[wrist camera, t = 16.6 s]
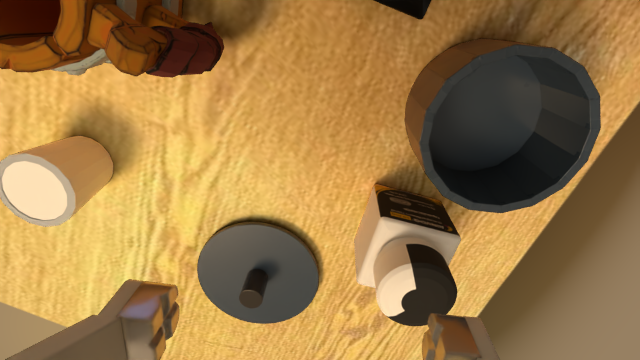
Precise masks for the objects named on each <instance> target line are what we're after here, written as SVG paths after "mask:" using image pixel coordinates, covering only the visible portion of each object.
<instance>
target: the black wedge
mask: <svg viewBox="0 0 640 360" xmlns="http://www.w3.org/2000/svg"><path fill="white" fill-rule="evenodd" d="M374 1H376V2H379V3H381V4H383V5H386V6H388V7H391V8H393V9H396V10H398V11H400V12H403V13H405V14H408V15H410V16H413V17H415V18H417V19H422V18H423V17H424V15H425V13H426V11H427V8H428V6H429V4H430V2H431V0H374Z"/></svg>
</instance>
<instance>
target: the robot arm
mask: <svg viewBox="0 0 640 360" xmlns="http://www.w3.org/2000/svg"><path fill="white" fill-rule="evenodd" d="M177 296H178V289H177V286H176V285H171V284H164V283H157V282H149V281H139V280H132V279H129V280H127V281H125V282H124V284H123V285H122V286H121V287H120V288H119V290H118V291H117V292H116V293H115V295H114V296H113V297H112V298H111V300H110V301H109V302H108V303H107V305H106V306H105V307H104V308H103V309H102V311H101V312H100V313H99V314H98V315H92V316H90V317H88V318H86V319H84V320H82V321H80V322H78V323H76V324H74V325H72V326H70V327H68V328H66V329H65V330H62V331H61V332H58V333H57V334H54V335H53V336H50V337H48V338H47V339H45V340H43V341H41V342H39V343H37V344H35V345H33V346H31V347H29V348H27V349H25V350H23V351H21V352H19V353H17V354H15V355H13V356H11V357H9V358H7V359H5V360H160V359H161V357H162V355H163V353H164V351H165V349H166V340H167V339H169V338H170V337H172V336H173V334H174V332H175V330H176V327H177V323H178V320H179V305H178V304H177V303H176V302H175V300H176V298H177ZM427 323H428V327H429V330H428V331H426V332H425V333H424V337H423V341H422V356H423V360H500V359H499V356H498V354H497V352H496V350H495V348H494V346H493V344H492V342H491V339H490V337H489V335H488V333H487V331H486V329H485V327H484V325H483V323H482V320H481V319H479V318H477V317H466V316H463V317H462V316H454V315H444V314H434V313H431V314H430V316H429V319H428V322H427Z"/></svg>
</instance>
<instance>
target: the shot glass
mask: <svg viewBox="0 0 640 360" xmlns="http://www.w3.org/2000/svg"><path fill="white" fill-rule="evenodd" d="M112 175H113V162H112V160H111V157H110V154H109V153H108V152H107V151H106V150H105V148H104V147H103V146H102V145H101V144H99V143H98V142H96V141H95V140H93V139H91V138H88V137H84V136H74V137H68V138H65V139H62V140H58V141H55V142H52V143H48V144H45V145H42V146H38V147H35V148H32V149H28V150H25V151H22V152H18V153H15V154H12V155H9V156H8V157H6V158H5V159H3V160H2V161H1V162H0V198H1V200H2V202H3V203H4V204H5V205H6V206H7V207H8V208H9V209H10V210H11V211H12V212H13V213H14V214H15V215H16V216H18V217H20V218H22V219H23V220H25V221H27V222H29V223H32V224H36V225H40V226H44V227H47V226H57V225H60V224H62V223H64V222H65V221H67V220H68V219H70V218H71V217H72V216H73V215H74V214H75V213H76V212H77V211H78V210H79V209H81V208H82V207H83V206H84V205H85V204H86V203H87V202H88V201H89V200H90V199H91V198H92V197H93V196H94V195H95V194H96V193H97V192H98V191H99V190H101V189H102V188H103V187H104V186H105V185H106V184H107V183H108V182H109V180H110V179H111V177H112Z"/></svg>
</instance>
